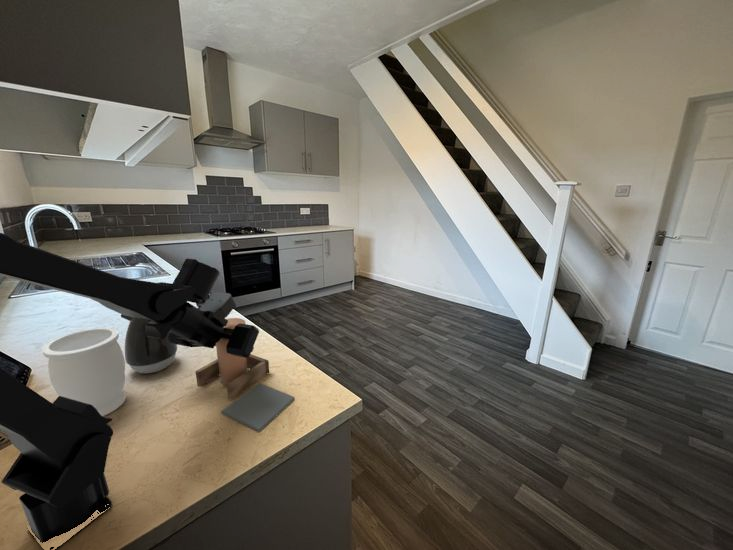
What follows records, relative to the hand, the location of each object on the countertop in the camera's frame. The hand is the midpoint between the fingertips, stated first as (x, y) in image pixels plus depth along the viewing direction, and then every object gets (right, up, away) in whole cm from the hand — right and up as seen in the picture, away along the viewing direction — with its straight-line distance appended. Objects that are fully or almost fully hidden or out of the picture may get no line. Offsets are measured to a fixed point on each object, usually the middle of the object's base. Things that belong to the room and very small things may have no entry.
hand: (235, 346), depth 67 cm
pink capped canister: (-1, -8, +1) cm, 8 cm away
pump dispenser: (-22, -6, +4) cm, 23 cm away
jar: (-23, -10, -9) cm, 27 cm away
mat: (+8, -10, -8) cm, 15 cm away
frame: (-1, -8, +1) cm, 8 cm away
